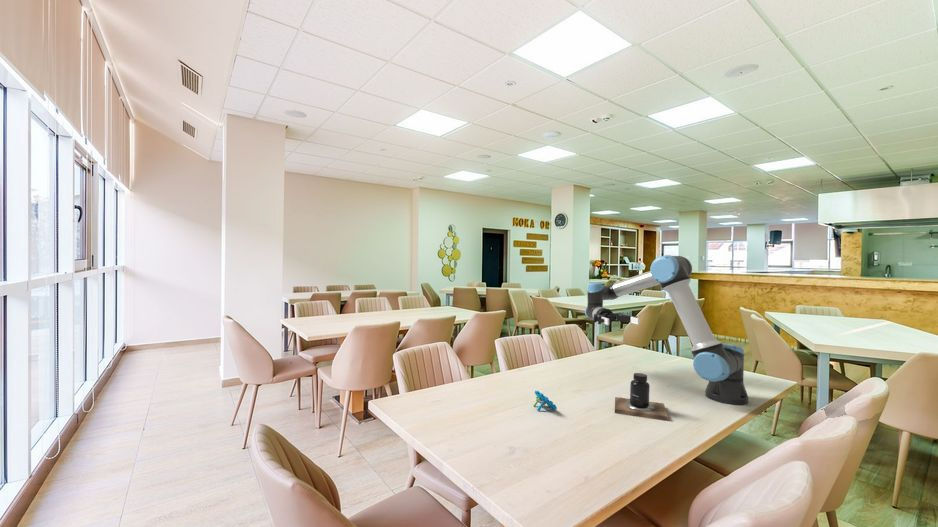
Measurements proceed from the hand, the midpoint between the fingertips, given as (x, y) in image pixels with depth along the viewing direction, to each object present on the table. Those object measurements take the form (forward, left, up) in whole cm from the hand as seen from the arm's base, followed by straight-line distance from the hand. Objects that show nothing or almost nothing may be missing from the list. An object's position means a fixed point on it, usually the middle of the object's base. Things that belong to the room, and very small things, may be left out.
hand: (623, 321), depth 167 cm
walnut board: (-6, +17, -31) cm, 36 cm away
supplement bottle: (-6, +17, -30) cm, 35 cm away
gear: (+28, +31, -32) cm, 52 cm away
